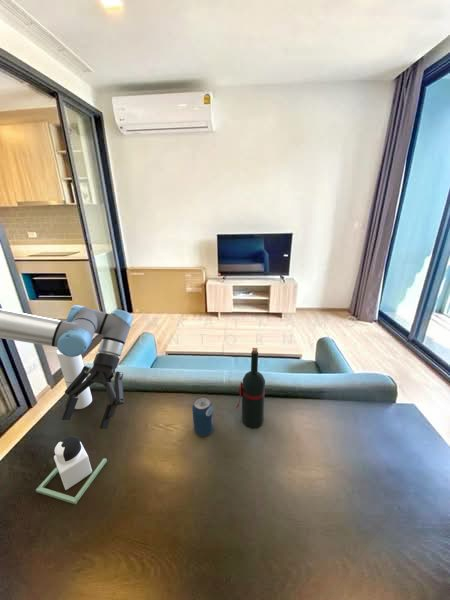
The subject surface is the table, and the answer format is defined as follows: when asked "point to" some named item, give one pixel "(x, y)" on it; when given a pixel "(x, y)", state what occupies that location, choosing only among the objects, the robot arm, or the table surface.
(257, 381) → the wine bottle
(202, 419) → the soda can
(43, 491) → the frame
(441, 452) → the table surface
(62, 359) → the cylindrical container
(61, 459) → the medicine bottle
